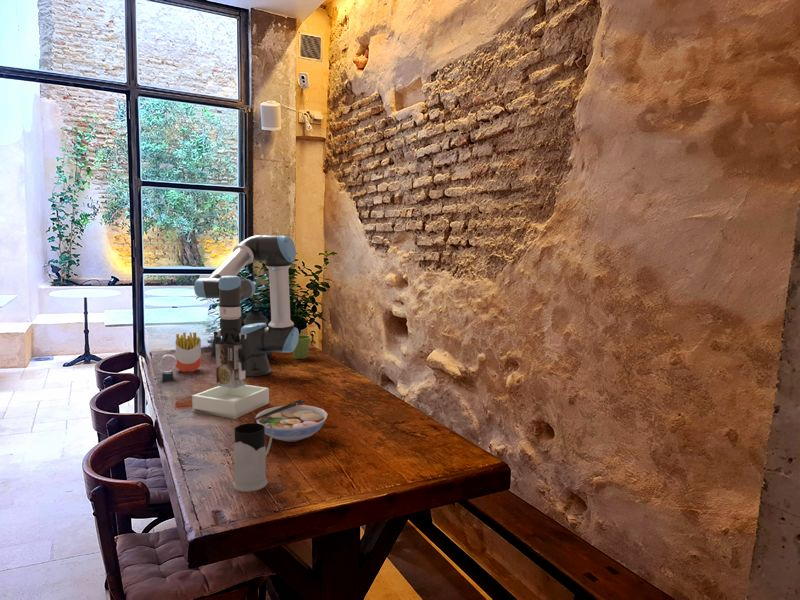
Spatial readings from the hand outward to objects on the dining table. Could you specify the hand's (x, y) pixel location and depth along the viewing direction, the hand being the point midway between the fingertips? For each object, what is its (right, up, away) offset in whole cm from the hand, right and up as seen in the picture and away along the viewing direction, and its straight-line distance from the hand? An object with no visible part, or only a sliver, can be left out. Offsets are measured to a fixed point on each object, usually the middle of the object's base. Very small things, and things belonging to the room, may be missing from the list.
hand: (231, 377), depth 200 cm
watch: (-41, -7, +39) cm, 56 cm away
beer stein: (-14, -2, +83) cm, 84 cm away
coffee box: (0, -3, 0) cm, 3 cm away
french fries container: (-37, -5, +55) cm, 66 cm away
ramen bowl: (+28, -16, -28) cm, 43 cm away
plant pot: (+10, -2, +86) cm, 87 cm away
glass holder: (+25, -19, -58) cm, 66 cm away
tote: (0, -11, +1) cm, 11 cm away
